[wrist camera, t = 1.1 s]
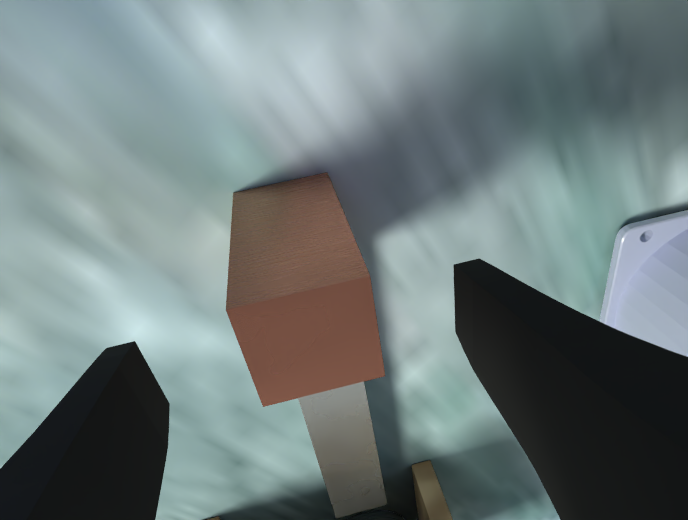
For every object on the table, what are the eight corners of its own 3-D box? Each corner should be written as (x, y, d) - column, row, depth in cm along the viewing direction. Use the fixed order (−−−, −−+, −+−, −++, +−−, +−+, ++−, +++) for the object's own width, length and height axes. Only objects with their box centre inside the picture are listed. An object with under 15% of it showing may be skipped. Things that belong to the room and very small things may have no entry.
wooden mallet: (327, 172, 14) (370, 276, 9) (384, 477, 24) (421, 612, 19) (233, 192, 14) (225, 309, 9) (327, 492, 23) (349, 632, 18)
